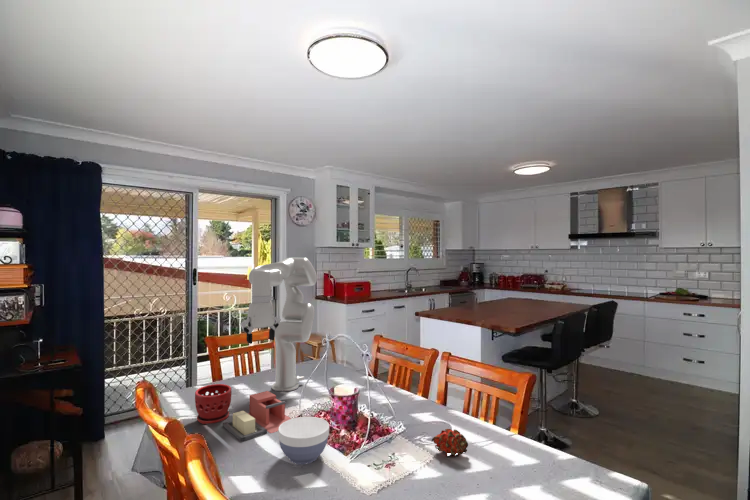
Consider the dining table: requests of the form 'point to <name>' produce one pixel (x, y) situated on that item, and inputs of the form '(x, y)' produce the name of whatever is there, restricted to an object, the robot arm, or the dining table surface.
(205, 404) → the plant pot
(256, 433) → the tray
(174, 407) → the dining table surface
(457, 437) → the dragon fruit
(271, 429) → the dispenser
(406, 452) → the dining table surface
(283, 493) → the dining table surface
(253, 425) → the cream chunky block
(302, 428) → the bowl
